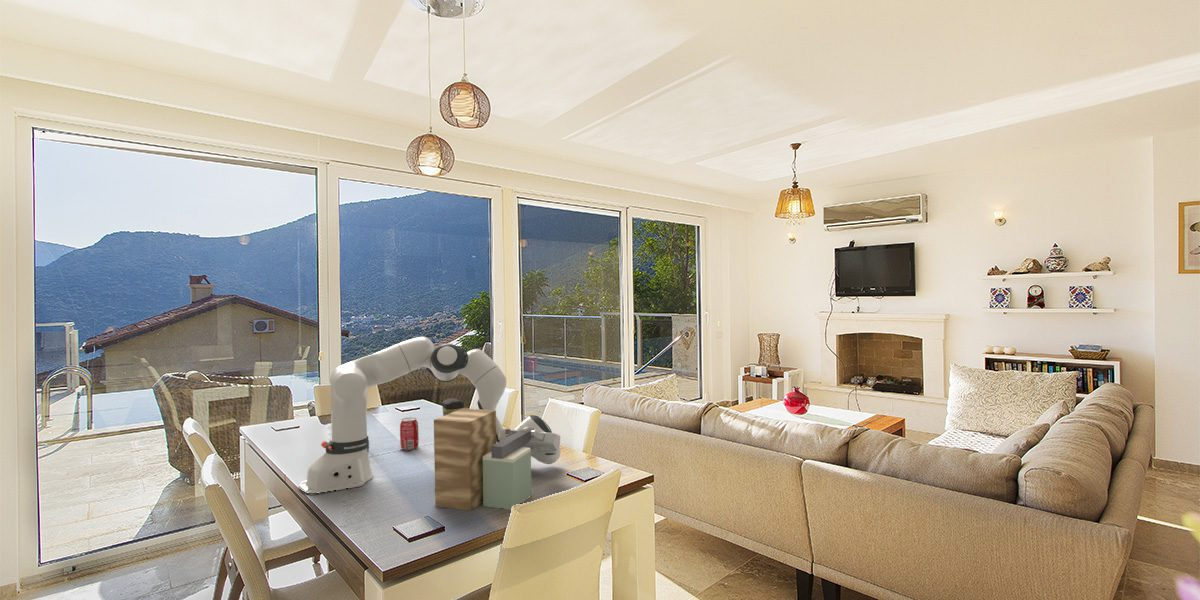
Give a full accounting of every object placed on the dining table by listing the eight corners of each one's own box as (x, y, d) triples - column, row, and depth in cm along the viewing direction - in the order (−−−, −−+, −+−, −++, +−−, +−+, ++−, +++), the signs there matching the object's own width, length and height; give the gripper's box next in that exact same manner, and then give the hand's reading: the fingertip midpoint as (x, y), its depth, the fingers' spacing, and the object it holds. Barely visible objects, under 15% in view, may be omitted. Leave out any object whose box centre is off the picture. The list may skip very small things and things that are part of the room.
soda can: (412, 444, 232) (411, 416, 232) (422, 447, 227) (421, 418, 227) (396, 448, 226) (396, 419, 226) (406, 452, 222) (406, 422, 222)
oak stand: (470, 510, 163) (468, 422, 162) (435, 505, 167) (433, 419, 166) (497, 491, 178) (495, 410, 177) (464, 487, 182) (463, 408, 181)
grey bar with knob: (502, 458, 163) (501, 444, 163) (491, 457, 164) (491, 443, 164) (534, 439, 184) (534, 426, 184) (524, 438, 185) (524, 425, 185)
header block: (513, 510, 163) (512, 459, 162) (483, 506, 166) (482, 456, 166) (531, 495, 174) (530, 447, 174) (502, 492, 177) (502, 445, 177)
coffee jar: (467, 443, 233) (466, 399, 232) (448, 447, 228) (447, 402, 228) (458, 438, 241) (458, 395, 240) (440, 441, 236) (440, 398, 236)
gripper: (510, 431, 194) (492, 420, 182) (565, 436, 187) (550, 424, 176) (506, 450, 191) (488, 439, 179) (561, 455, 185) (546, 444, 173)
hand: (519, 431), depth 178 cm, fingers open, 8 cm apart
